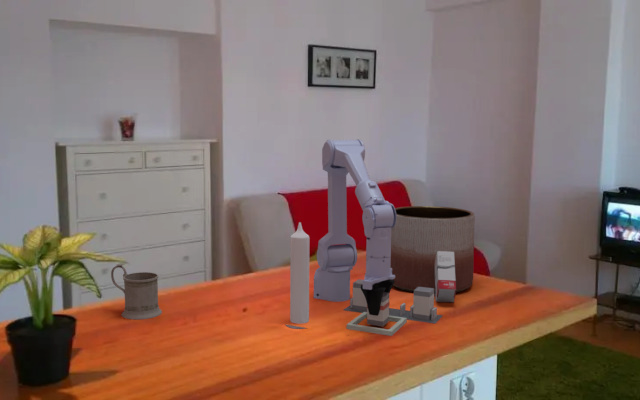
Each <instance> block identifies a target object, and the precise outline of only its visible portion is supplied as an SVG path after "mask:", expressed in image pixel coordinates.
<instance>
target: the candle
mask: <svg viewBox="0 0 640 400" xmlns="http://www.w3.org/2000/svg"><path fill="white" fill-rule="evenodd" d="M289 238H290V243H289V245H290V248H289V249H290V250H289V251H290V252H289V253H290V257H289V261H290V262H289V264H290V266H289V267H290V269H289V270H290V273H289V274H290V275H289V279H290V280H289V281H290V282H289V283H290V284H289V289H290V290H289V292H290V293H289V295H290V297H289V299H290V301H289V303H290V304H289V305H290V306H289V307H290V308H289V310H290V311H289V312H290V313H289V319H290V320H289V321H290V323H293V324H299V325H301V324H307V323H308V322H310V235H309V234H307V233H306V232H305V231H304V229H303V226H302V222H300V221H299V222H298V225H297V229H296V231H295V232H294V233H292V234H291V235H290V237H289ZM284 325H285V327H287V328H288V329H292V330H293V329H295V330H306V329H308V327H304V326H298V325H291V324H284Z"/></svg>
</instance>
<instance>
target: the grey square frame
mask: <svg viewBox="0 0 640 400" xmlns="http://www.w3.org/2000/svg"><path fill="white" fill-rule="evenodd" d="M365 319H367V312H363V313H359V315H358V316H356V317H355V318H353V319H352V320H351V321H349V322H348V323H346V330H351V331H357V332H364V333H371V334H378V335H383V336H389V337H392V336H394V334H395V333H397V332H398V331H399V330H400V329H401V328H402V327H403V326H404V325H405V324H406V323H407V322H408V320H407V318H403V317H396V316H389V322H393V323H394V324H393V325H392V326H390V328H389V329H388V328H387V329H386V328H383V327H382V328H381V327H374V326H368V325H367V326H366V325H361V324H360V323H361V322H363V321H364V320H365Z"/></svg>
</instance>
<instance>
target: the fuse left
mask: <svg viewBox="0 0 640 400" xmlns="http://www.w3.org/2000/svg"><path fill="white" fill-rule="evenodd" d="M363 280H364V279H359V278H358V279H357V280H355V281H353V282H352V297H353V310H359V311H366V312H367V302H366V298H365V296H364V294H363V292H362V290H361V285H362V284H363Z"/></svg>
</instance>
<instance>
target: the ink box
mask: <svg viewBox="0 0 640 400" xmlns="http://www.w3.org/2000/svg"><path fill="white" fill-rule="evenodd" d="M434 265H435V266H434V267H435V294H434V297H435V302H436V303H437V302H438V303H454V302H455V298H456V293H457V292H456V278H455V258H454V252H446V251H437V252H436V258H435V264H434Z"/></svg>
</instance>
